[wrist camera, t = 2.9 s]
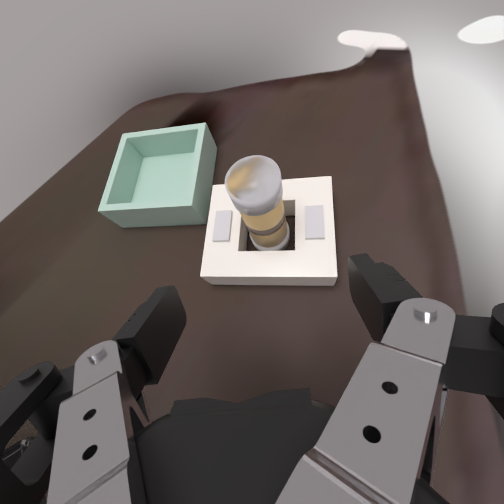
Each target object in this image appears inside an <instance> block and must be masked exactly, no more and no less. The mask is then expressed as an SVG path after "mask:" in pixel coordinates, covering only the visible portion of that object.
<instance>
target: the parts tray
mask: <svg viewBox="0 0 504 504" xmlns="http://www.w3.org/2000/svg"><path fill="white" fill-rule="evenodd" d="M216 154H217V147H216V144H215V142H214V140H213V138H212V135H211V133H210V131H209V129H208V126H207V124H206V123H200V124H192V125H185V126H178V127H170V128H163V129H155V130H148V131H140V132H133V133H125V134H123V135H122V138H121V141H120V144H119V147H118V150H117V153H116V156H115V160H114V163H113V166H112V169H111V172H110V175H109V178H108V181H107V184H106V188H105V191H104V194H103V197H102V200H101V203H100V206H99V209H98V212H100V213H101V214H103V215H104V216H106V217H107V218H109V219H110V220H112V221H113V222H115V223H116V224H118V225H119V226H121V227H122V228H130V227H153V226H176V225H199V224H207V217H208V210H209V203H210V196H211V189H212V182H213V175H214V168H215V161H216Z"/></svg>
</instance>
